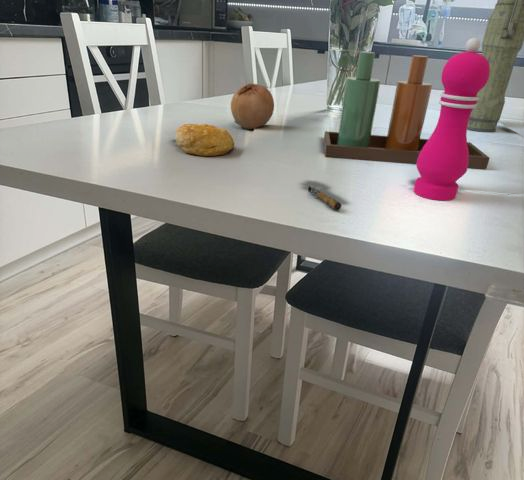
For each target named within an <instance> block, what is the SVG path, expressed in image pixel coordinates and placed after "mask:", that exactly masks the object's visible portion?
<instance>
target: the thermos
mask: <svg viewBox="0 0 524 480" xmlns="http://www.w3.org/2000/svg"><path fill="white" fill-rule="evenodd" d="M486 24H487V25H486V27H485V32H484V35H483V39H482V42H481V53H480V54H481V55H483V56H484V57H485V58H486V59H487V60H488V62H489V66H490V75H489V79H488V81H487V83H486V85H485V86H484V87H483V88H482V89H481V90H480V91H479V92H478V93H477V95H476V96H478V97H479V99H478V100H477V103H476V104H477V107H475V108H473V109H472V112H471V115H470V117H469V121H468V125H467V131H471V132H472V131H473V132H479V133H494V132H496V130H497V125H498V122H499V121H500V119H501V116H502V112H503V110H504V106H505V103H506V92H507V89H508V85H509V83H510V79H511V76H512V73H513V69H514V66H515V63H516V60H517V57H518V54H519V52H520V51H521V50H522V47H523V44H524V0H497V1H496V3H495V4H494V8H493V11H492V13H491V14H490V16H489V17H488V19H487V23H486Z"/></svg>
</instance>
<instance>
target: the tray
mask: <svg viewBox="0 0 524 480" xmlns="http://www.w3.org/2000/svg"><path fill="white" fill-rule="evenodd" d="M338 134H339V131H328V130H327V131H325V130H324V135H323V151H324V157H325V158H330V159H340V160H341V159H342V160H344V159H345V160H355V161H356V160H358V161H368V162H369V161H370V162H382V163H391V164H392V163H394V164H407V165H416V163H417V159H418V156H419V154H420V152H421V150H422V148H423V147H424V145H425V144H426V142H427V141H428V139H429V138H420V142H419V146H418V150H417V151H408V150H395V149H385V144H386V139H387V135H379V134H371V139H370V145H369V147H356V146H343V145H337V142H338ZM467 145H468V152H469V163H468V168H467V169H468V170H469V169H471V170H482V171H486V170H487V168H488V166H489V162H490V158H491V157H490V156H489V155H487V154H485V153H484V152H483V151H482V150H481V149H479V148H478V147H477V146H475V144H473V143H471V142H469V141H467Z"/></svg>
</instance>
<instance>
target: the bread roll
mask: <svg viewBox="0 0 524 480" xmlns="http://www.w3.org/2000/svg"><path fill="white" fill-rule="evenodd" d="M174 140H175V141H176V143H177V145H178V146H179V147H180V149H181V150H182V151H184V153H185V154H190V155H195V156H201V157H202V156H203V157H211V156H212V157H213V156H222V155H225V154H227V153H229V152H230V151H232V149H234V148H235V140H234V138H233V137H232V134H231V133H230V132H229V131H228V130H227V129H224V128H223V129H222V128H220V127H217V126H215V125H212V124H207V123H203V124H198V123H197V124H196V123H184V124H182V125H180V126H179V127H178V128H177V129H176V130H175V135H174Z"/></svg>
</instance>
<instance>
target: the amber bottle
mask: <svg viewBox="0 0 524 480" xmlns="http://www.w3.org/2000/svg"><path fill="white" fill-rule="evenodd" d="M428 61H429V56H427V55H417V54H416V55H415V54H414V55H413V54H412V57H411V63H410V67H409V71H408V77H407V80H397V82H396V87H395V93H394V98H393V103H392V108H391V113H390V118H389V124H388V129H387V134H386V136H387V139H386V144H385V149H395V150H408V151H417V150H418V146H419V142H420V139H421V138H422V137H421V136H422V133H423V130H424V129H423V128H424V124H425V121H426V120H425V119H426V115H427V111H428V106H429V101H430V98H431V93H432V89H433V84H432V83H430V82H426V81H425V82H424V79H425V75H426V69H427V66H428V65H427V64H428Z"/></svg>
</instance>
